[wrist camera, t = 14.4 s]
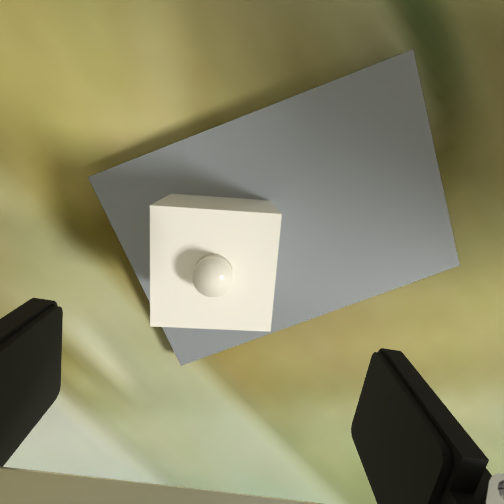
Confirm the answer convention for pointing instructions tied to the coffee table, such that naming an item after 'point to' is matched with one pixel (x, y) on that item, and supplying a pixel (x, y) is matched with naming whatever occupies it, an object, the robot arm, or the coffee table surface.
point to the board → (307, 195)
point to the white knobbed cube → (213, 262)
